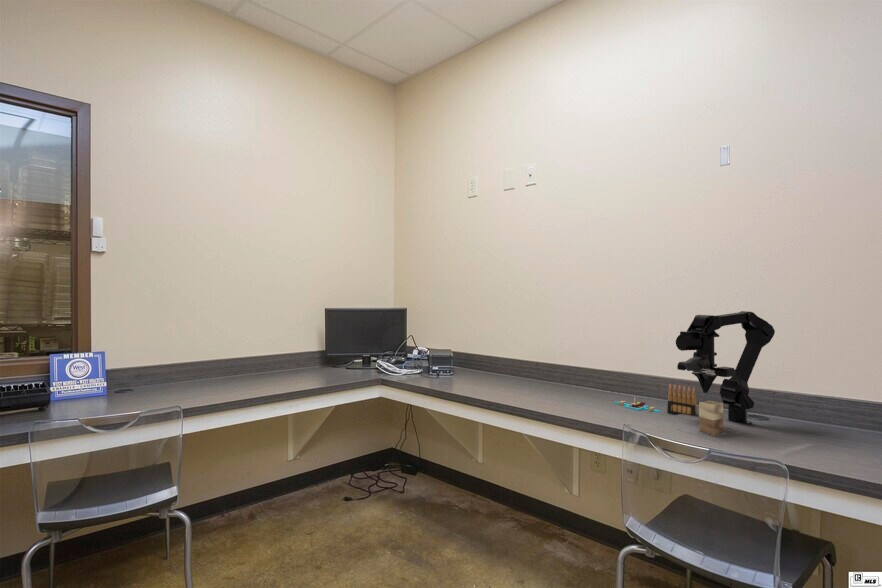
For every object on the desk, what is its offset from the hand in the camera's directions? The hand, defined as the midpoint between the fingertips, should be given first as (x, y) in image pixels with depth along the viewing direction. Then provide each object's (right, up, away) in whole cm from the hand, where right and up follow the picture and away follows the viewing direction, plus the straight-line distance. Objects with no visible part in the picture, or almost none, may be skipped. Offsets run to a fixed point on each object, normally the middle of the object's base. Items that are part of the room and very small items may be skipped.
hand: (705, 392), depth 164 cm
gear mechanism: (-13, -13, +27) cm, 33 cm away
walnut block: (-5, -11, -11) cm, 16 cm away
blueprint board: (-5, -12, -11) cm, 17 cm away
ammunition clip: (-1, -12, +14) cm, 19 cm away
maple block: (-5, -6, -11) cm, 13 cm away
